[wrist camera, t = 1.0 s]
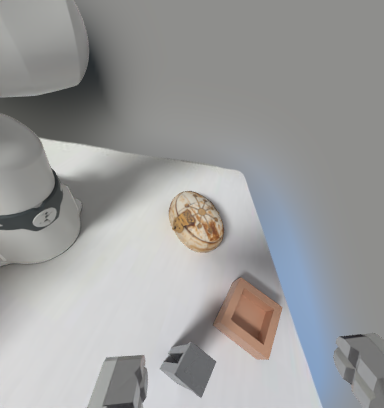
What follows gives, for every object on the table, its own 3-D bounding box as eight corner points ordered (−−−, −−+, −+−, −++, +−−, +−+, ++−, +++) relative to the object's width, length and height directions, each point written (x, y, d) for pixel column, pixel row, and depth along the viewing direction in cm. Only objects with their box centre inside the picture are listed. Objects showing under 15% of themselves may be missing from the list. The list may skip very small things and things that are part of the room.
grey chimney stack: (158, 369, 34) (174, 374, 23) (171, 345, 36) (191, 341, 26) (176, 384, 33) (201, 397, 23) (189, 360, 35) (216, 361, 25)
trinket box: (178, 196, 56) (185, 177, 50) (226, 222, 56) (239, 206, 50) (153, 232, 48) (157, 214, 42) (209, 264, 47) (222, 250, 41)
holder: (212, 325, 40) (220, 322, 37) (232, 282, 46) (240, 277, 43) (256, 359, 38) (268, 359, 35) (271, 310, 44) (282, 307, 41)
